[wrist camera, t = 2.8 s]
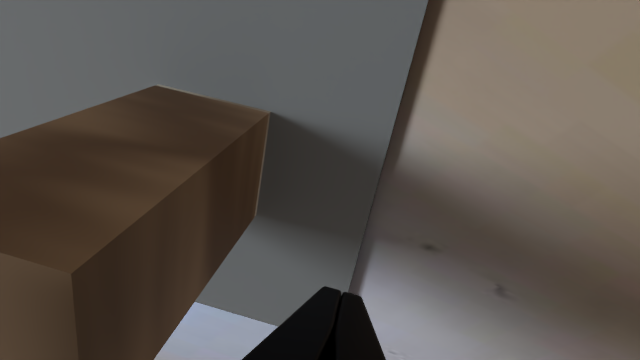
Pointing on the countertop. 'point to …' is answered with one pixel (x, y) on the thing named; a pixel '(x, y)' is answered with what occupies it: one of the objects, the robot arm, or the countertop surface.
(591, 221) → the countertop surface
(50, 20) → the mat
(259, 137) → the walnut block
